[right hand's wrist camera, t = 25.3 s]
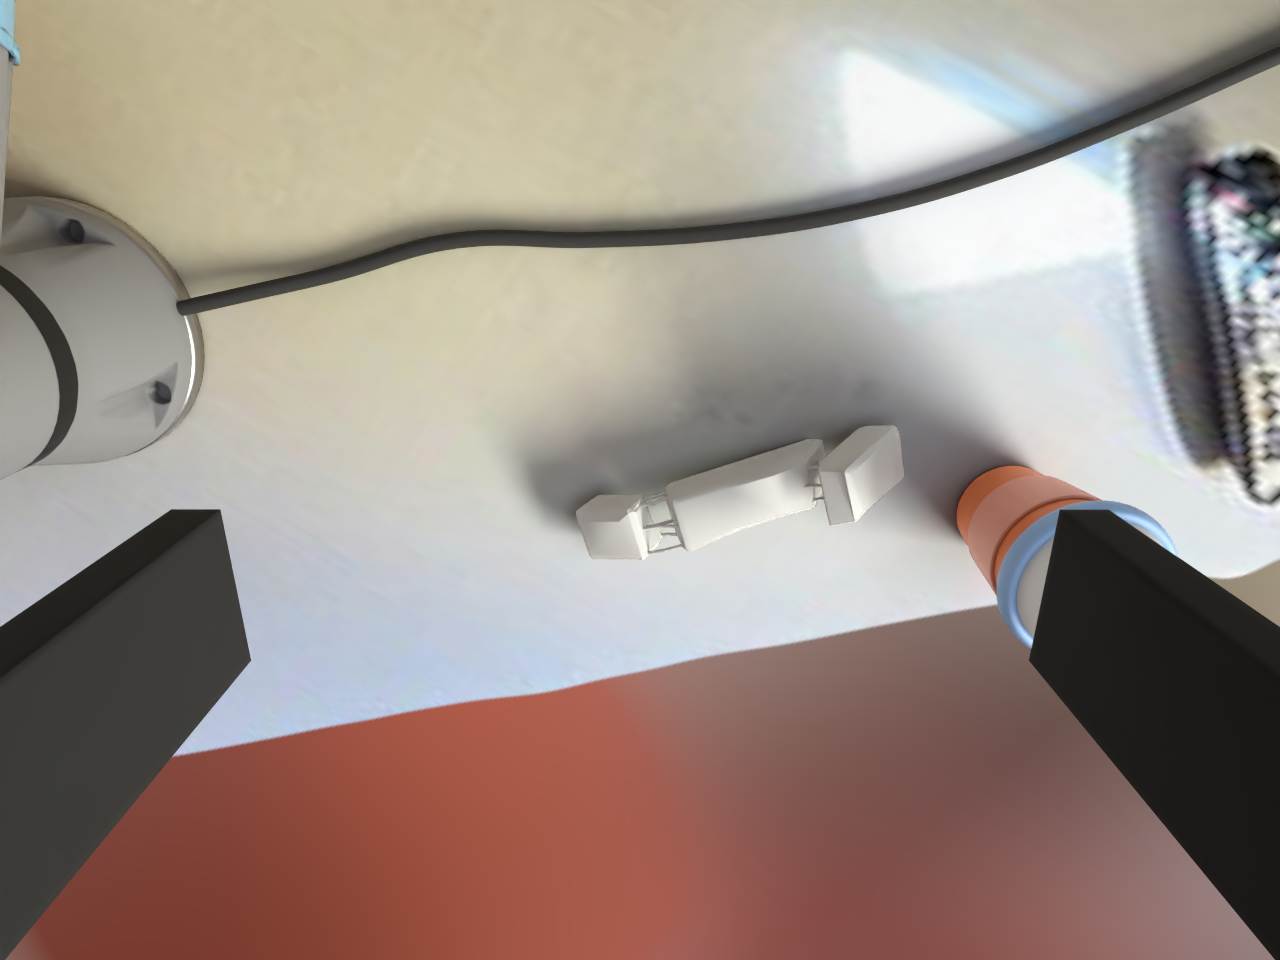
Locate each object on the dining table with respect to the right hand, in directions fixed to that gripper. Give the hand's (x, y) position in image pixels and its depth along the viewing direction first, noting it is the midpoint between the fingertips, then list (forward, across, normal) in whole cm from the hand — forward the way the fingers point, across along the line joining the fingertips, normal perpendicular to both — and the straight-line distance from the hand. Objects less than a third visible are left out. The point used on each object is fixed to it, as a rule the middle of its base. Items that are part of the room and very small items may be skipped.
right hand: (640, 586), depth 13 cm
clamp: (+36, +6, -12) cm, 38 cm away
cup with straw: (+36, +23, -14) cm, 45 cm away
